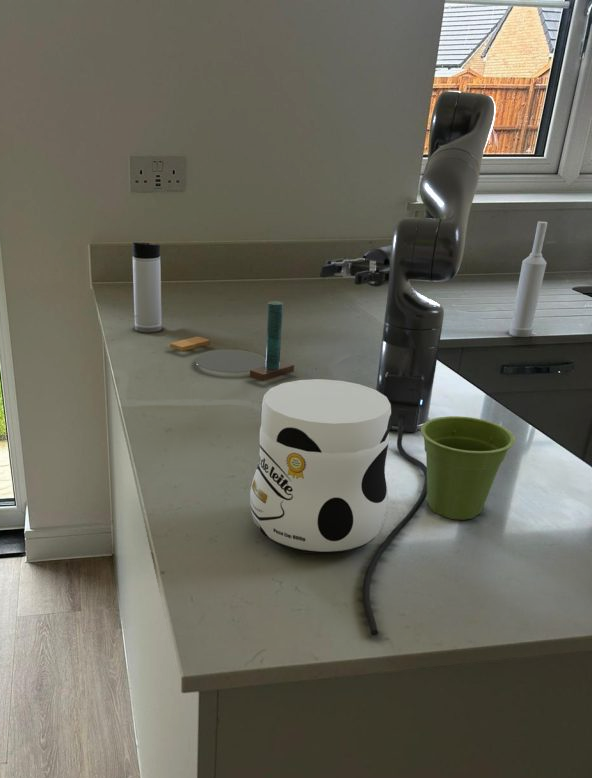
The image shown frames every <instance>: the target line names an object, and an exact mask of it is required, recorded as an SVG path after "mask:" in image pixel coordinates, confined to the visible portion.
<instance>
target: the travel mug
mask: <svg viewBox="0 0 592 778" xmlns="http://www.w3.org/2000/svg"><path fill="white" fill-rule="evenodd" d="M161 269H162V268H161V244H159V243H155V244H152V243H150V242H137V241H135V242H132V278H133V280H132V281H133V308H134V329H135V331H137V332H139V333H145V334H146V333H147V334H149V333H150V334H151V333H157V332H160V331H161V330H162V329H163V328H162V327H163V326H162V279H161V278H162V277H161V274H162V273H161V272H162V271H161Z"/></svg>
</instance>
